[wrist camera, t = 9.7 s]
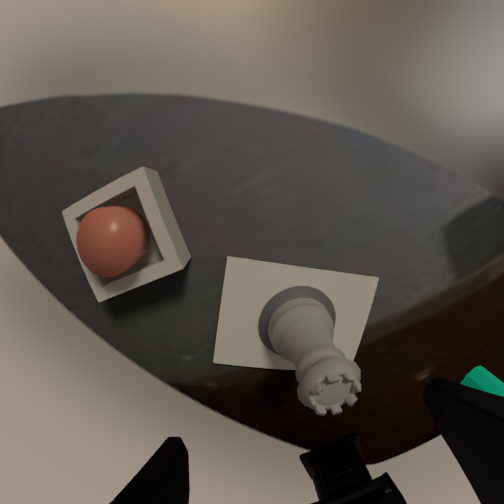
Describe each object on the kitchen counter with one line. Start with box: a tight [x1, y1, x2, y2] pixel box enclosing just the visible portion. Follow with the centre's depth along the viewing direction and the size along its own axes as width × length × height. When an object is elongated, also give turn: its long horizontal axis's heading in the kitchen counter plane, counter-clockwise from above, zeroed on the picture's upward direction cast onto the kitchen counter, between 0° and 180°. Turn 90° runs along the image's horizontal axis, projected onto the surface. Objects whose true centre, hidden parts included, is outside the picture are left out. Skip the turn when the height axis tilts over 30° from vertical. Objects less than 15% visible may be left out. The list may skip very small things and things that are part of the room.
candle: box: [460, 366, 504, 397], centre depth 17 cm, size 6×6×12 cm
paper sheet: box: [213, 256, 379, 370], centre depth 19 cm, size 11×8×1 cm
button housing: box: [62, 167, 191, 302], centre depth 15 cm, size 6×6×3 cm
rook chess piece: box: [268, 297, 361, 416], centre depth 15 cm, size 4×4×8 cm
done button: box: [76, 206, 149, 277], centre depth 13 cm, size 4×4×2 cm
